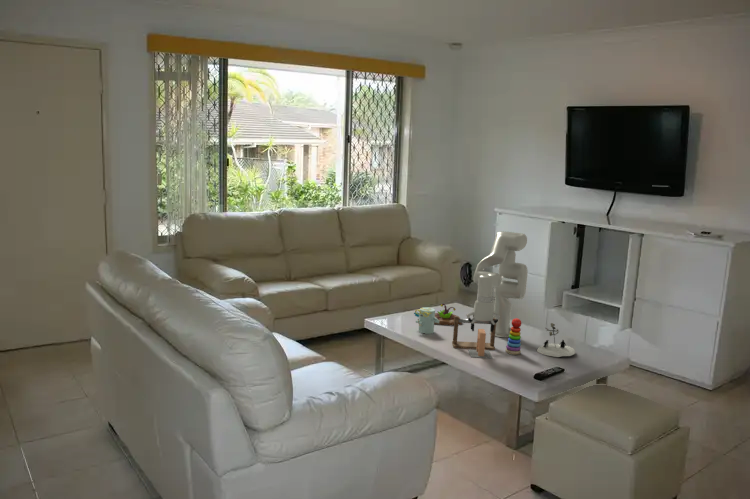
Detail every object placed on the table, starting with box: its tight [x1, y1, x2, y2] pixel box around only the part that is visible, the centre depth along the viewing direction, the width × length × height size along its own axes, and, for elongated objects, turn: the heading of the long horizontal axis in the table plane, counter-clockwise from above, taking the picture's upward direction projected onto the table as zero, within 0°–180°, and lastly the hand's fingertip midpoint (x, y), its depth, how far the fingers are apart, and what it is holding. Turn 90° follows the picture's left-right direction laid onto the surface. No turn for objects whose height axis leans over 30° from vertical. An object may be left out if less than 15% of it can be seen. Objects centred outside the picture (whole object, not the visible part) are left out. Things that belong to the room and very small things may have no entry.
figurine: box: [536, 322, 576, 358], centre depth 338 cm, size 20×18×16 cm
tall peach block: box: [475, 328, 487, 356], centre depth 329 cm, size 3×8×12 cm, turn 177°
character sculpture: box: [413, 306, 440, 335], centre depth 363 cm, size 20×12×13 cm, turn 43°
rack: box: [451, 315, 496, 351], centre depth 341 cm, size 22×8×16 cm, turn 89°
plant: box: [434, 303, 463, 326], centre depth 388 cm, size 20×20×11 cm
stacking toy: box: [505, 318, 522, 356], centre depth 333 cm, size 8×8×19 cm
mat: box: [467, 349, 493, 359], centre depth 330 cm, size 11×11×1 cm
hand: (482, 331), depth 329 cm, fingers open, 9 cm apart
